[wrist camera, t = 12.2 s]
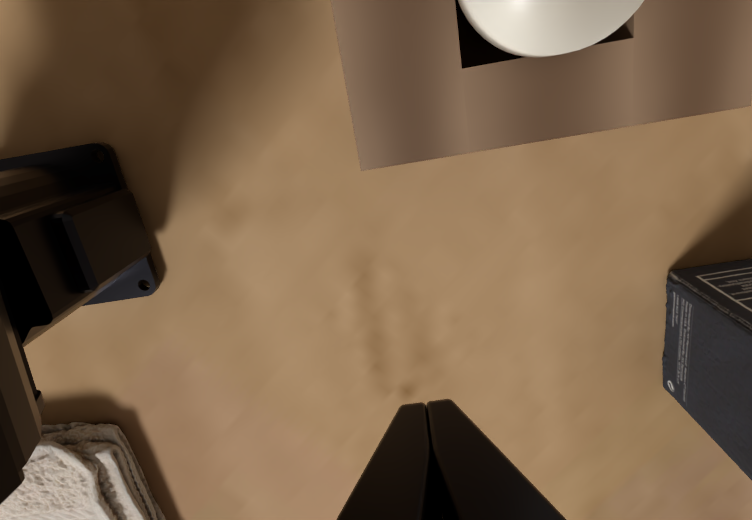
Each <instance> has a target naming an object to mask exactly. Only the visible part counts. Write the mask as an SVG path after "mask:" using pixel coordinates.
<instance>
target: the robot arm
mask: <svg viewBox="0 0 752 520" xmlns="http://www.w3.org/2000/svg"><path fill="white" fill-rule="evenodd" d="M98 150H99V151H101V152H102V153H103V155H104V160H103V161H101V160H100V159H99V158H98V157H97V151H98ZM150 250H151V246H150V243H149V240H148V237H147V234H146V231H145V228H144V226H143V223H142V220H141V217H140V214H139V211H138V208H137V205H136V202H135V199H134V197H133V194H132V193H131V192H130V191H128V188H127V185H126V183H125V180H124V177H123V174H122V171H121V168H120V165H119V162H118V160H117V157H116V154H115V152H114V150H113V148H112V147H111V146H110V145H109V144H106V143H104V142H97V143H92V144H86V145H80V146H75V147H69V148H64V149H58V150H52V151H47V152H41V153H35V154H30V155H24V156H19V157H13V158H7V159H2V160H0V505H1V504H2V503H3V502H4V501H5V500H6V499H7V498H8V497H9V496H10V495H11V494H12V493H13V492H14V491H15V490H16V489H17V488H18V487H19V486H20V485H21V484H22V482H23V481H24V479H25V474H24V472H23V469H22V468H23V467H24V466H25V465H26V464H27V462H28V460H29V458H30V457H31V455H32V453H33V452H34V450H35V448H36V446H37V445H38V443H39V441H40V440H41V417H40V415H41V413H42V411H43V409H44V407H45V403H44V400H43V396H42V393H41V391H39V390H36V387H35V383H34V380H33V377H32V374H31V371H30V368H29V364H28V361H27V358H26V355H25V352H24V349H23V347H24V346H26V345H27V344H29V343H30V342H31V341H33V340H34V339H36V338H37V337H38V336H40V335H41V334H43V333H44V332H45V331H47V330H48V329H50V328H51V327H53V326H54V325H55V324H57V323H58V322H60V321H61V320H62V319H64V318H65V317H67V316H68V315H69V314H71V313H72V312H74V311H75V310H76V309H78V308H79V307H81V306H85V305H91V304H98V303H104V302H111V301H117V300H124V299H131V298H137V297H144V296H149V295H152V294H153V293H154V292H155V291H156V290H157V289H158V288H159V286H160V281H159V278H158V275H157V272H156V269H155V266H154V263H153V260H152V257H151V255H150ZM143 280H146V281H148V282H149V284H150V287H147V286H145V285H144V284H143ZM426 407H427V409H426ZM442 517H443V518H442ZM337 520H566V519H565V518H564V517H563V516H562V515H561V513H560V512H559V511H558V510H557V509H556V508H555V507H554V506H553V505H552V504H551V503H550V502H549V501H548V500H547V499H546V498H545V497H544V496H543V495H542V494H541V493H540V492H539V491H538V490H537V488H536V487H535V486H534V485H533V484H532V483H531V482H530V481H529V480H528V479H527V478H526V477H525V476H524V475H523V474H522V473H521V472H520V471H519V470H518V469H517V468H516V467H515V466H514V464H513V463H512V462H511V461H510V460H509V459H508V458H507V457H506V456H505V455H504V454H503V453H502V452H501V451H500V450H499V449H498V448H497V447H496V446H495V445H494V444H493V443H492V442H491V440H490V439H489V438H488V437H487V436H486V435H485V434H484V433H483V432H482V431H481V430H480V429H479V428H478V427H477V426H476V425H475V424H474V423H473V422H472V421H471V420H470V419H469V418H468V416H467V415H466V414H465V413H464V412H463V411H462V410H461V409H460V408H459V407H458V406H457V405H456V404H455V403H454V402H453V401H452V400H450V399H444V400H436V401H430V402H428V403H427V405H425V404H424V403H422V402H420V403H413V404H405V405H402V406H400V408H399V409H398V411H397V413H396V415H395V416H394V418H393V420H392V422H391V424H390V425H389V427H388V429H387V431H386V432H385V434H384V436H383V438H382V440H381V441H380V443H379V445H378V447H377V448H376V450H375V452H374V454H373V456H372V457H371V459H370V461H369V463H368V464H367V466H366V468H365V470H364V472H363V473H362V475H361V477H360V479H359V480H358V482H357V484H356V486H355V488H354V489H353V491H352V493H351V495H350V496H349V498H348V500H347V502H346V504H345V505H344V507H343V509H342V511H341V512H340V514H339V516H338V518H337Z"/></svg>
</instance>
